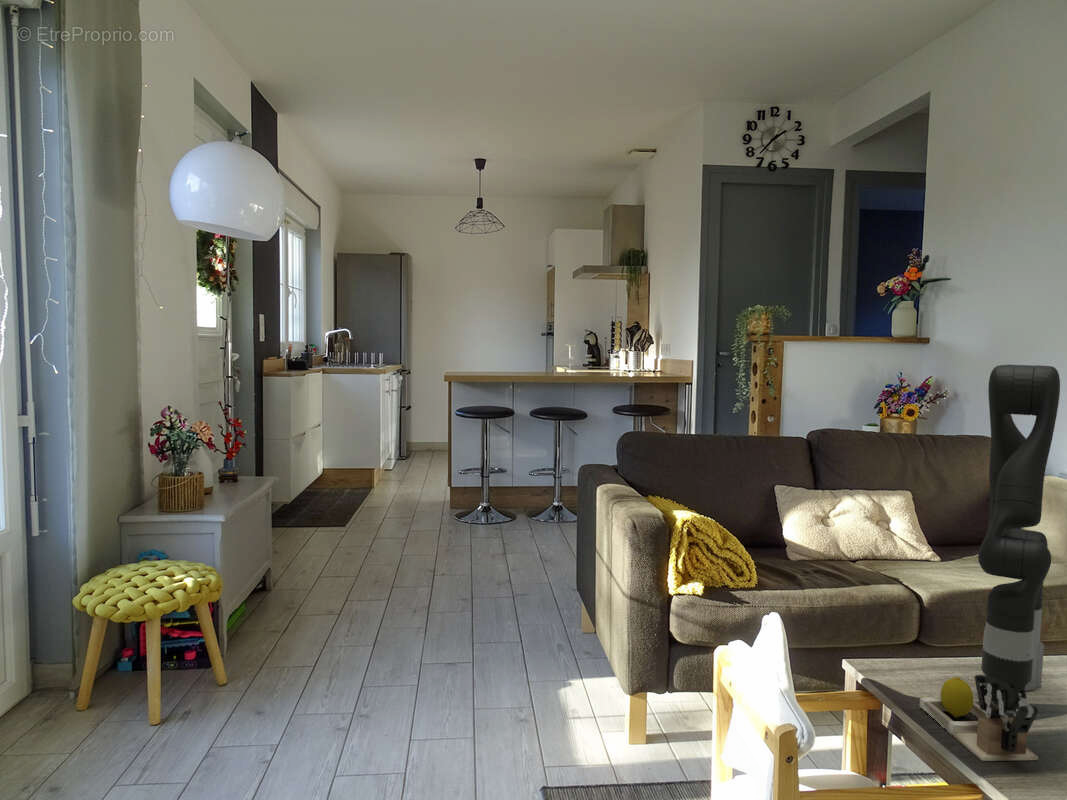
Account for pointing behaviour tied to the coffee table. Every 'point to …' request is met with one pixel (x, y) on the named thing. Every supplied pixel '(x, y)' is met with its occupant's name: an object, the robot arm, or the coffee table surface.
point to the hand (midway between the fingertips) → (1001, 744)
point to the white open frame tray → (978, 733)
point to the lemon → (957, 697)
